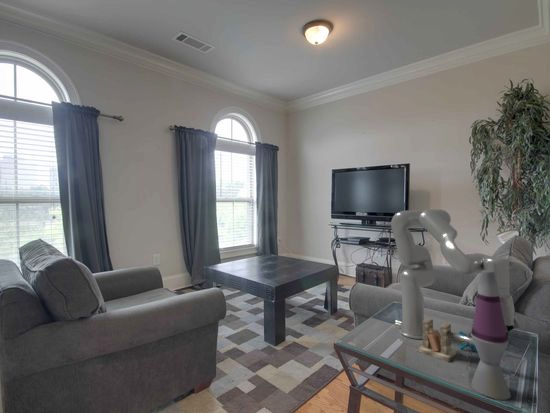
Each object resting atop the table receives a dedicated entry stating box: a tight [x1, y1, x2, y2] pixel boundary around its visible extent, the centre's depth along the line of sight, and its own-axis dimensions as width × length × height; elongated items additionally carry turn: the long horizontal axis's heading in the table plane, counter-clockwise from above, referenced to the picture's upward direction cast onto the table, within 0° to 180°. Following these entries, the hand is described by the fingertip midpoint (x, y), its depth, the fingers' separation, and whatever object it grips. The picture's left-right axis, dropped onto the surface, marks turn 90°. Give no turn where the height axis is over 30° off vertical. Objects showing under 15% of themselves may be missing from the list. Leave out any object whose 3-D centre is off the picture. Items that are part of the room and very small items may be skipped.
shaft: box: [447, 331, 475, 345], centre depth 113 cm, size 19×3×9 cm, turn 42°
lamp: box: [470, 270, 512, 401], centre depth 98 cm, size 11×11×40 cm
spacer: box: [428, 329, 441, 351], centre depth 123 cm, size 2×6×6 cm, turn 132°
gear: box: [458, 330, 477, 352], centre depth 125 cm, size 11×6×10 cm
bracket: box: [417, 317, 458, 363], centre depth 123 cm, size 12×10×12 cm
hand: (497, 339), depth 107 cm, fingers closed on shaft, 3 cm apart
